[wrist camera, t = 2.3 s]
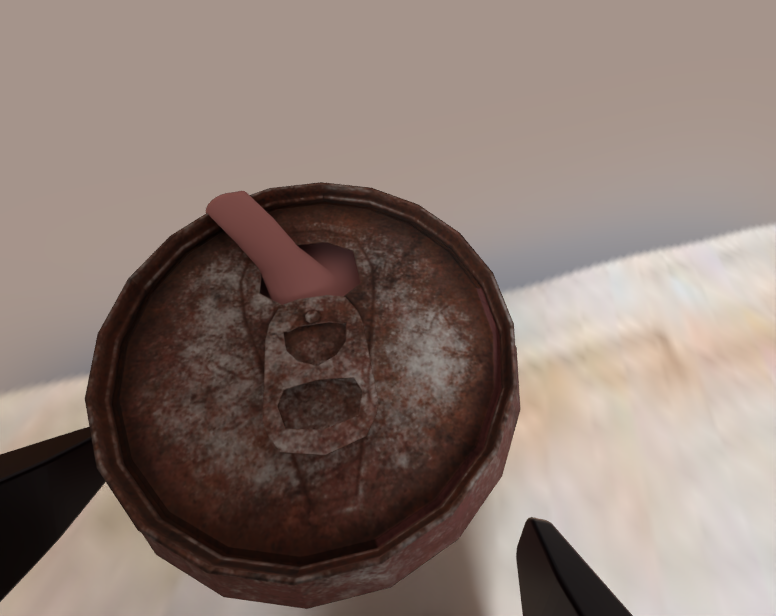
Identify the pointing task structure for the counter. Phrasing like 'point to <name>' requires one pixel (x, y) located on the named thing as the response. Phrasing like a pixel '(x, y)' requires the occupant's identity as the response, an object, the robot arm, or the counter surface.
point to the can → (305, 393)
